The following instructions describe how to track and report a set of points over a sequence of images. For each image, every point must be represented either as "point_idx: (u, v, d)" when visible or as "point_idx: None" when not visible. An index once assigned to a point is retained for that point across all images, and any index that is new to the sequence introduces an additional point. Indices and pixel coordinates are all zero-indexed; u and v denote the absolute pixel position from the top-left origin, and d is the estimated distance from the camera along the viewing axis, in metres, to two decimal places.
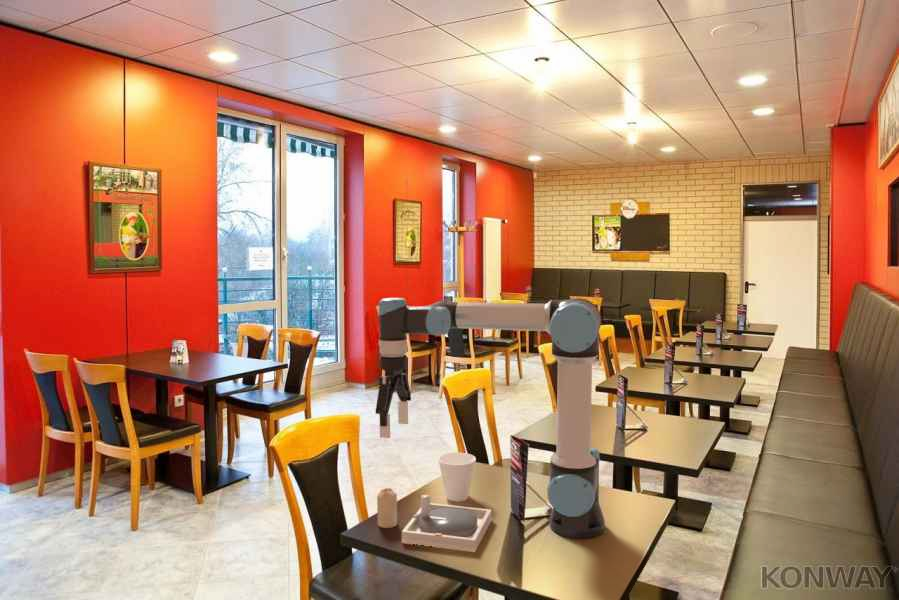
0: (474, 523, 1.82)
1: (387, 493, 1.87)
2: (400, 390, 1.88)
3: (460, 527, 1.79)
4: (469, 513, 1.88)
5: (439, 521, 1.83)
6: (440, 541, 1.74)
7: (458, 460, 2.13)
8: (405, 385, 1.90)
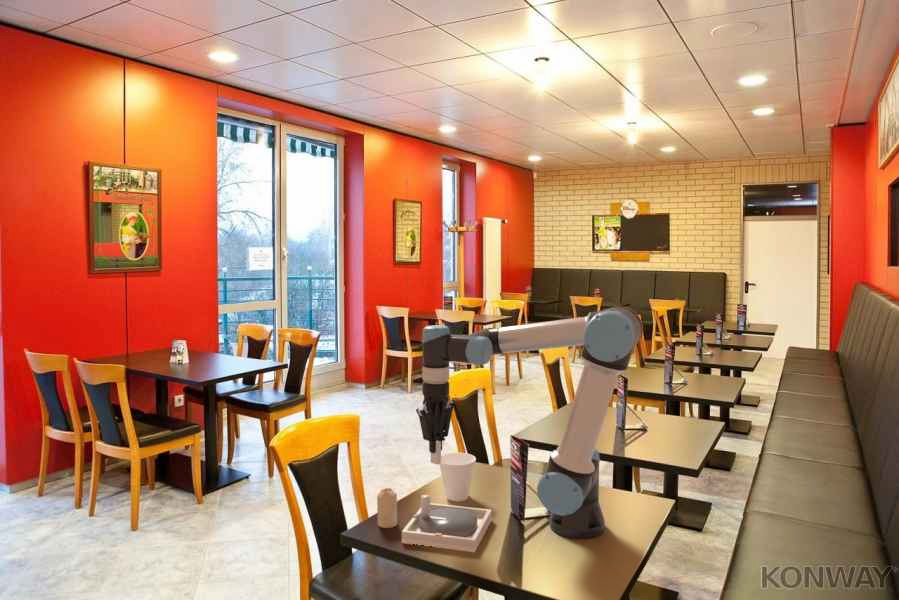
0: (474, 523, 1.82)
1: (387, 493, 1.87)
2: (438, 422, 1.88)
3: (460, 527, 1.79)
4: (469, 513, 1.88)
5: (439, 521, 1.83)
6: (440, 541, 1.74)
7: (458, 460, 2.12)
8: (446, 420, 1.89)
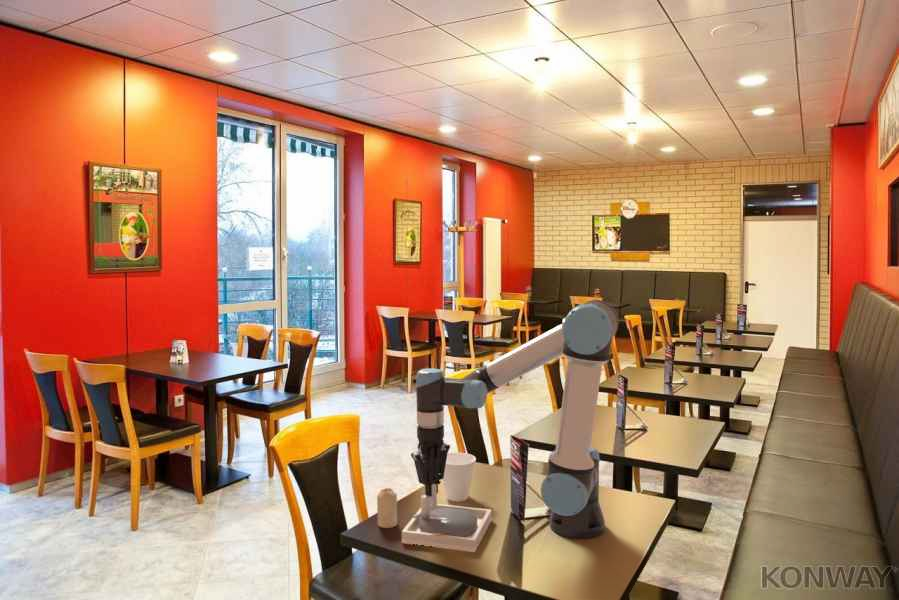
0: (474, 523, 1.82)
1: (387, 493, 1.87)
2: (433, 465, 1.87)
3: (461, 526, 1.79)
4: (469, 513, 1.88)
5: (439, 521, 1.83)
6: (440, 541, 1.74)
7: (458, 460, 2.12)
8: (441, 463, 1.89)
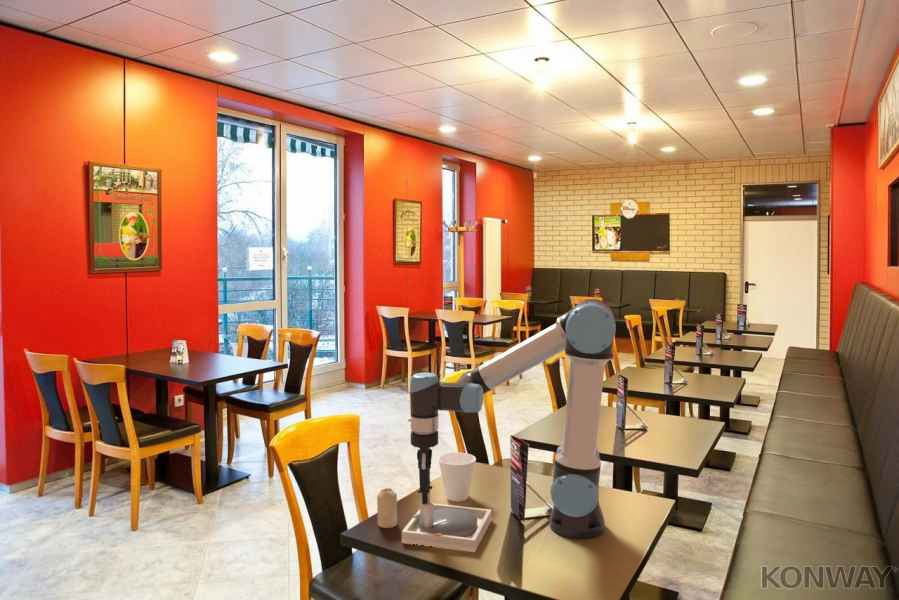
0: (470, 513, 1.88)
1: (387, 493, 1.87)
2: None
3: (469, 519, 1.84)
4: (449, 509, 1.91)
5: (446, 524, 1.81)
6: (440, 541, 1.74)
7: (458, 460, 2.12)
8: None
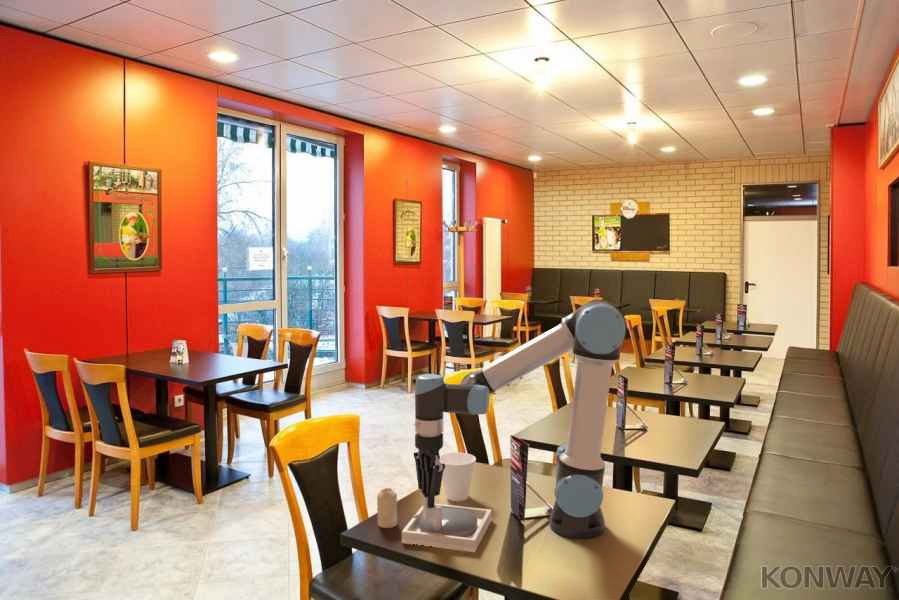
0: (460, 509, 1.91)
1: (387, 493, 1.87)
2: None
3: (466, 515, 1.87)
4: None
5: (451, 523, 1.81)
6: (440, 541, 1.74)
7: (458, 460, 2.13)
8: None
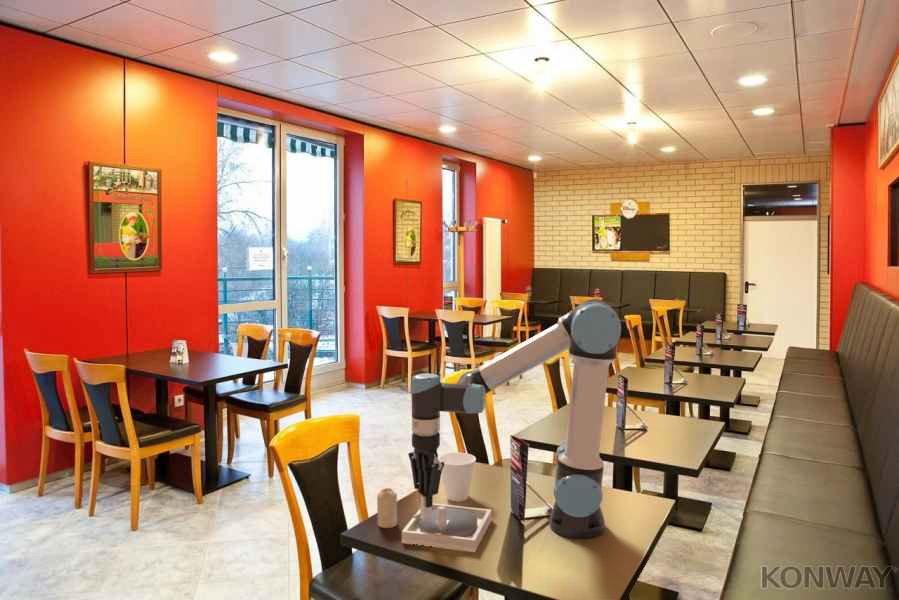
0: (456, 509, 1.91)
1: (387, 493, 1.87)
2: None
3: (464, 514, 1.88)
4: (433, 511, 1.90)
5: (453, 523, 1.82)
6: (440, 541, 1.74)
7: (458, 460, 2.13)
8: None
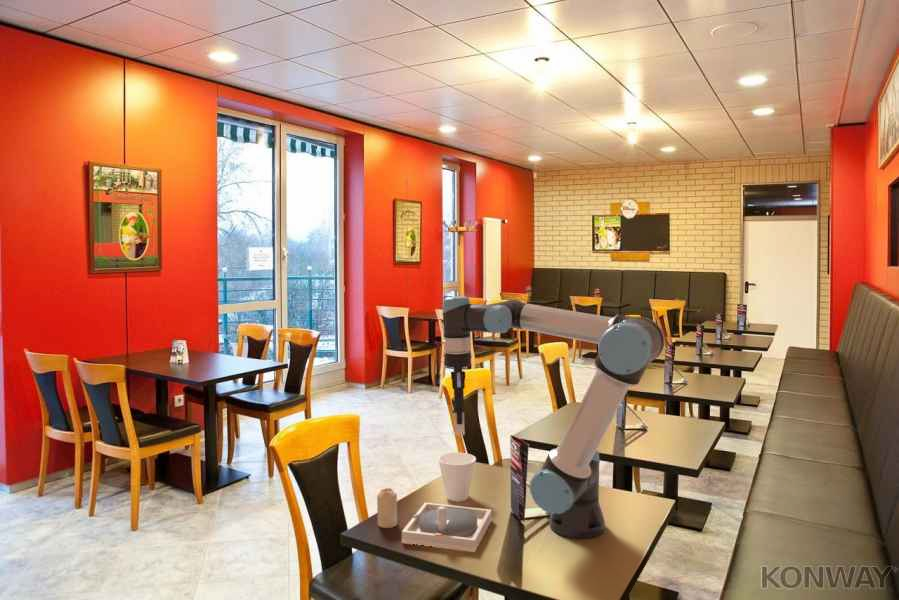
0: (456, 509, 1.91)
1: (387, 493, 1.87)
2: None
3: (464, 514, 1.88)
4: (433, 511, 1.90)
5: (453, 523, 1.82)
6: (440, 541, 1.74)
7: (458, 460, 2.13)
8: None
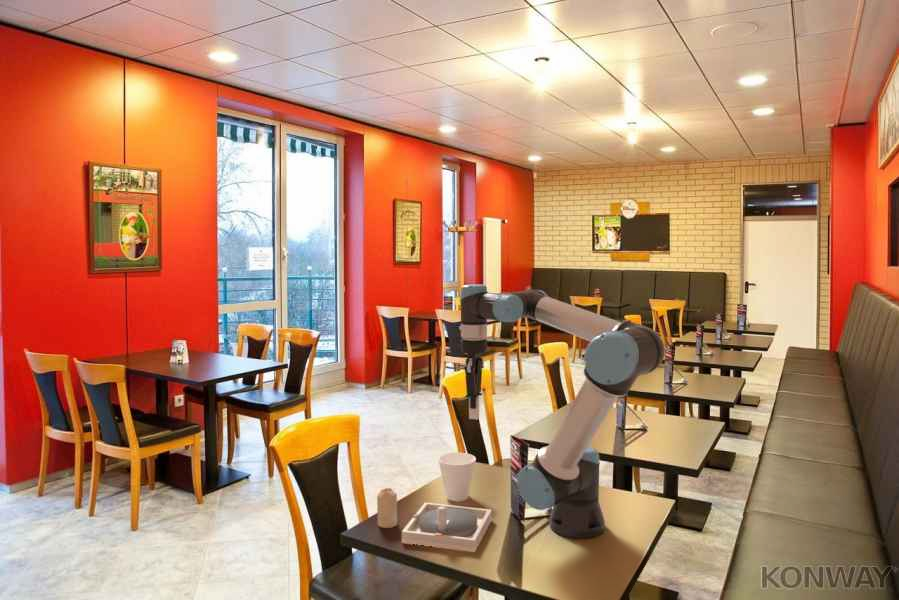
0: (456, 509, 1.91)
1: (387, 493, 1.87)
2: None
3: (464, 514, 1.88)
4: (433, 511, 1.90)
5: (453, 523, 1.82)
6: (440, 541, 1.74)
7: (458, 460, 2.12)
8: None
